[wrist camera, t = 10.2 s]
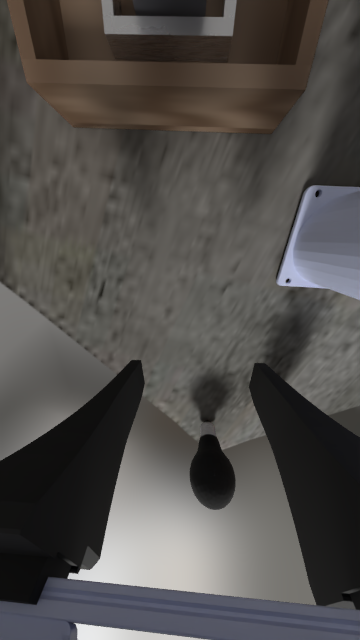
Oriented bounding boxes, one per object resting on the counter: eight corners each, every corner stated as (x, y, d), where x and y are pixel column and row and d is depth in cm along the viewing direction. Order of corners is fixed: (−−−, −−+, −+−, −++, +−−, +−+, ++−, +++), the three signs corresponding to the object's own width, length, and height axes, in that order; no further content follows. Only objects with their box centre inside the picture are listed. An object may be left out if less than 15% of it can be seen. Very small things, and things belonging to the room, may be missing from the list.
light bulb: (185, 427, 29) (182, 511, 20) (197, 407, 26) (200, 493, 17) (215, 434, 29) (227, 520, 20) (230, 416, 27) (250, 504, 18)
